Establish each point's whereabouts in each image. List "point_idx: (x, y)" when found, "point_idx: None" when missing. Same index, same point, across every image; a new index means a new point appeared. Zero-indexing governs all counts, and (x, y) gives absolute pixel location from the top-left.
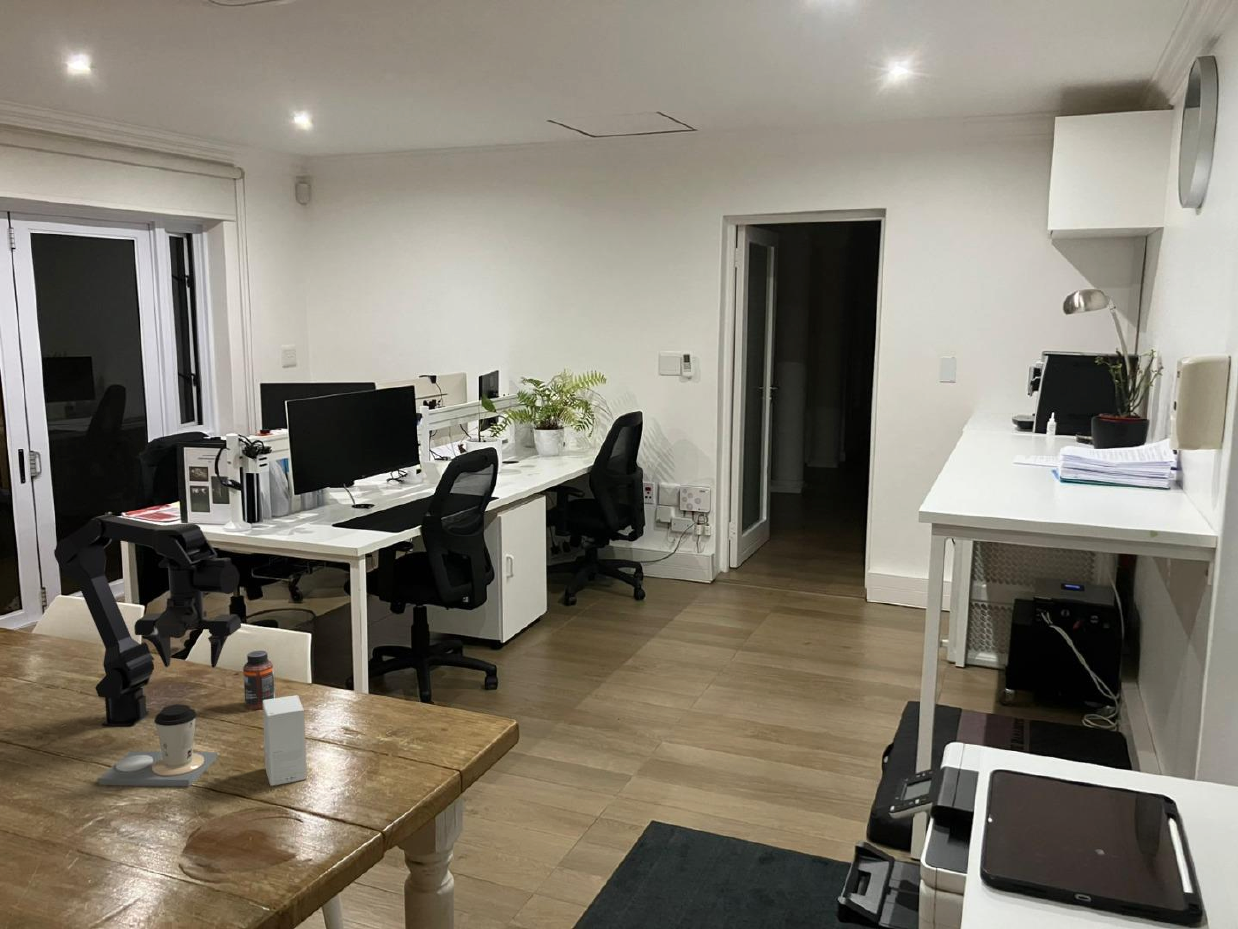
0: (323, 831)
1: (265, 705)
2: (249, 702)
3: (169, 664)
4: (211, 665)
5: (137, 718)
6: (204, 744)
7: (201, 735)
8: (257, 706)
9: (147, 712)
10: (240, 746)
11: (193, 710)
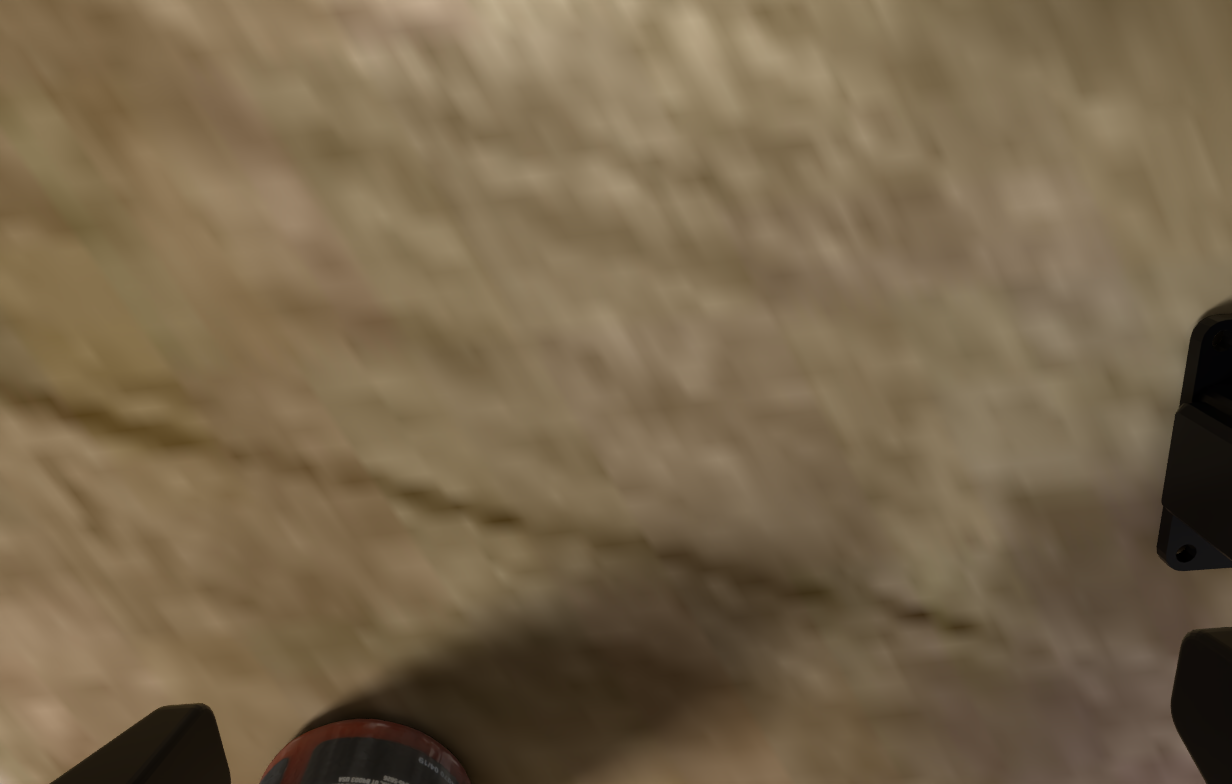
0: None
1: None
2: (386, 754)
3: (1185, 721)
4: (182, 729)
5: (1204, 404)
6: (370, 27)
7: (510, 216)
8: (324, 732)
9: (1168, 543)
10: (4, 21)
11: None
